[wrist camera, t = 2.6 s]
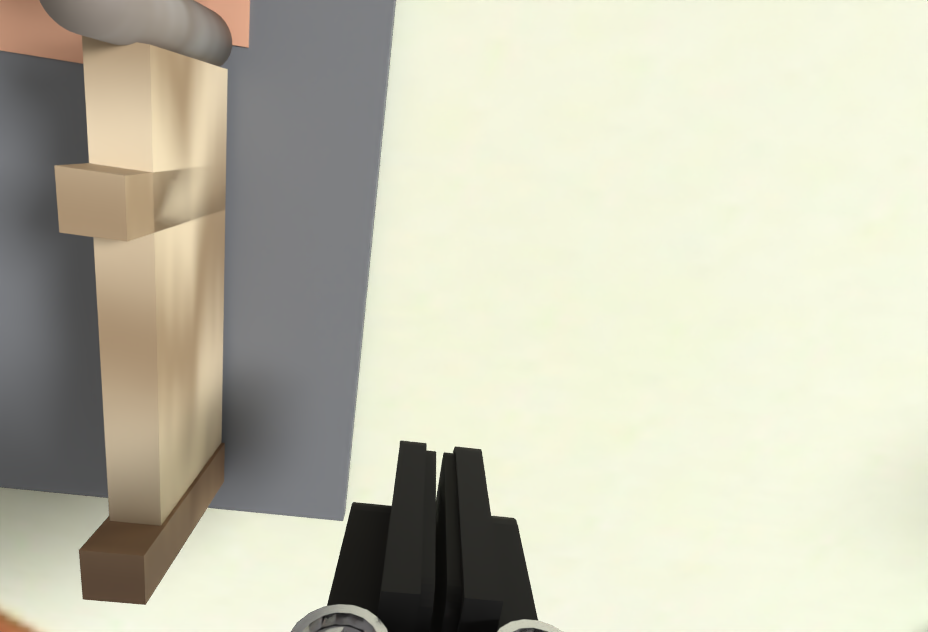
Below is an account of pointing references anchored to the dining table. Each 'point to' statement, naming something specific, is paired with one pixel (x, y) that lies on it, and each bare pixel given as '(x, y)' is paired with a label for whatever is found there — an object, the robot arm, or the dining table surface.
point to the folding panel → (152, 272)
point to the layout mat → (246, 252)
